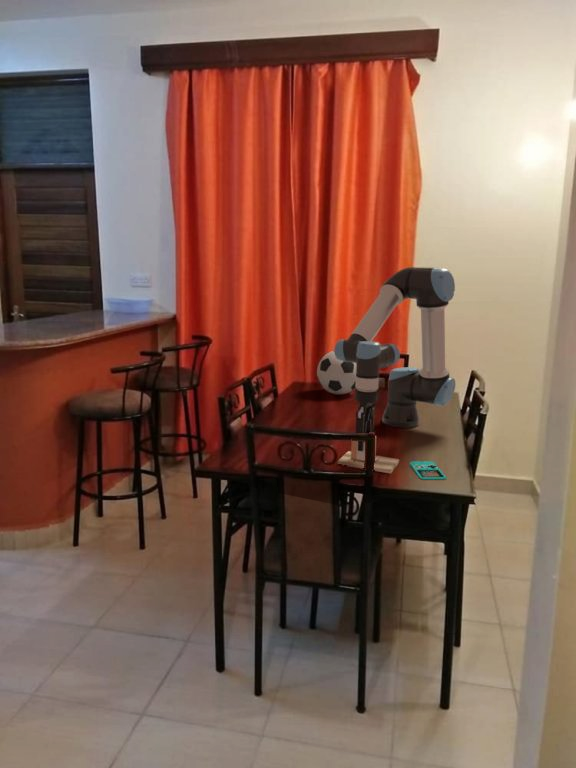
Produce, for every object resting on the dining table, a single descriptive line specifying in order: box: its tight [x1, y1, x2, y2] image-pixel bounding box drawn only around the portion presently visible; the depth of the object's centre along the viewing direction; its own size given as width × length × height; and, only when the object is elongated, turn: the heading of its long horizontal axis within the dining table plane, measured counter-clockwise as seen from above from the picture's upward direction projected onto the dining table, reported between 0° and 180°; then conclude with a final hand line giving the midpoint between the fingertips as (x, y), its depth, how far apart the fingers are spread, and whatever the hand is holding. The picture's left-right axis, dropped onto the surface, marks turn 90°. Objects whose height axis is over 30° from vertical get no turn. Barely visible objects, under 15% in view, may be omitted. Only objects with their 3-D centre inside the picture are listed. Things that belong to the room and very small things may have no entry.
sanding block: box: [350, 434, 377, 462], centre depth 192 cm, size 5×7×8 cm
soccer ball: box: [316, 350, 357, 395], centre depth 285 cm, size 22×22×22 cm
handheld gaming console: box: [409, 460, 447, 481], centre depth 187 cm, size 8×1×15 cm
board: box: [337, 450, 400, 475], centre depth 192 cm, size 11×18×1 cm, turn 65°
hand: (363, 456), depth 193 cm, fingers closed on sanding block, 5 cm apart
